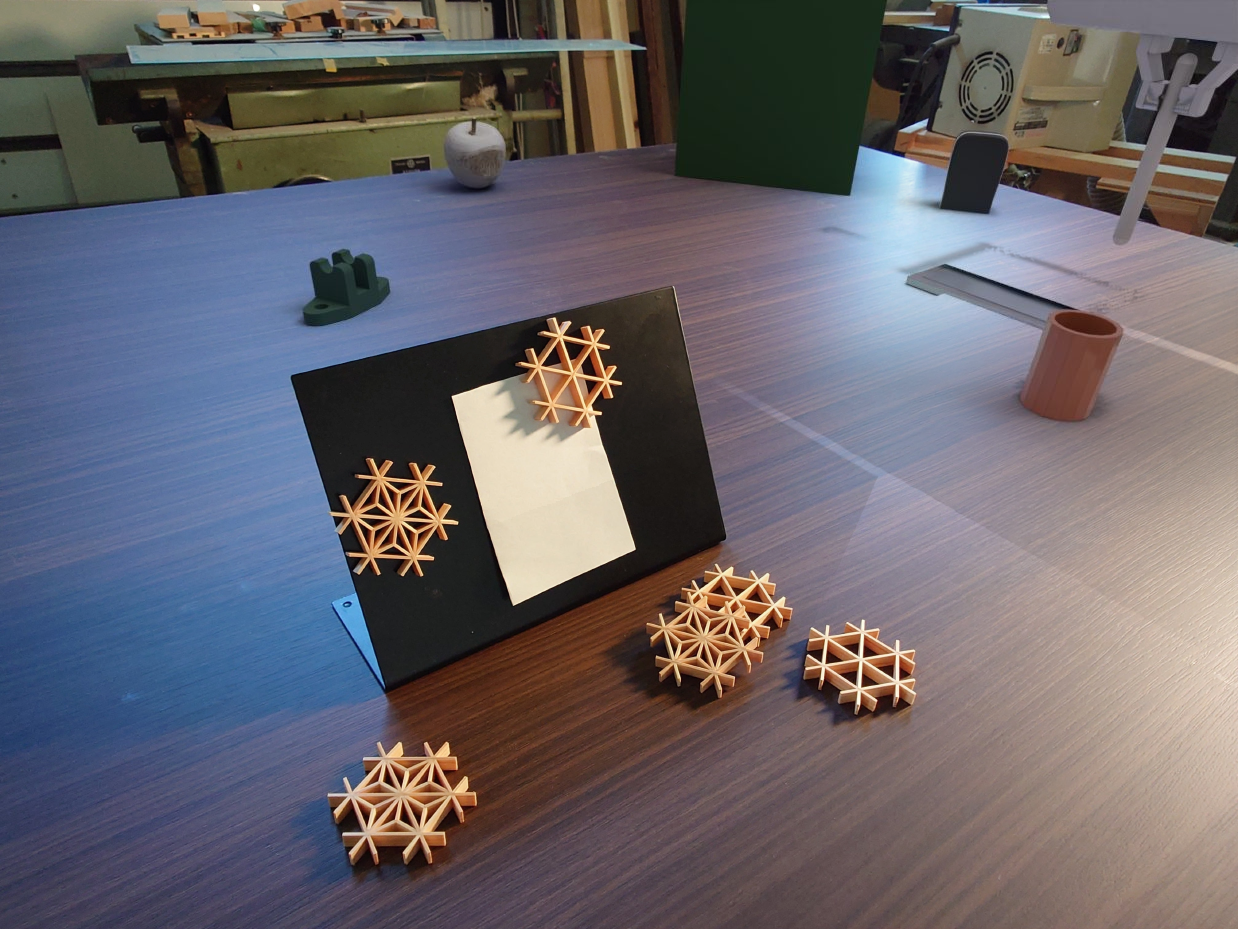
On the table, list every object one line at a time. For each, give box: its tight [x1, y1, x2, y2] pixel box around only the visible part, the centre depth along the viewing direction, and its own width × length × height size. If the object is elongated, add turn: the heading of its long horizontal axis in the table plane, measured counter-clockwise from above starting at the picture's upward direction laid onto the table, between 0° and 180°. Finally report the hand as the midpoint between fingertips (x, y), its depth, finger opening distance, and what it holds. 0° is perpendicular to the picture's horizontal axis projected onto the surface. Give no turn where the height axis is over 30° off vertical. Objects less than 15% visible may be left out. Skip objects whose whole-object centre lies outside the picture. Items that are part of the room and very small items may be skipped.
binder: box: [674, 0, 888, 196], centre depth 121 cm, size 27×15×32 cm, turn 74°
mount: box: [302, 248, 391, 327], centre depth 80 cm, size 11×4×5 cm, turn 153°
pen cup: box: [1019, 309, 1125, 423], centre depth 66 cm, size 5×5×8 cm
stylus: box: [1112, 52, 1198, 246], centre depth 58 cm, size 1×1×13 cm
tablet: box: [905, 263, 1079, 331], centre depth 90 cm, size 18×16×1 cm
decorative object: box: [443, 116, 507, 189], centre depth 116 cm, size 9×9×10 cm
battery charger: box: [938, 129, 1010, 215], centre depth 110 cm, size 7×4×11 cm, turn 73°
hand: (1168, 111), depth 57 cm, fingers closed on stylus, 1 cm apart
